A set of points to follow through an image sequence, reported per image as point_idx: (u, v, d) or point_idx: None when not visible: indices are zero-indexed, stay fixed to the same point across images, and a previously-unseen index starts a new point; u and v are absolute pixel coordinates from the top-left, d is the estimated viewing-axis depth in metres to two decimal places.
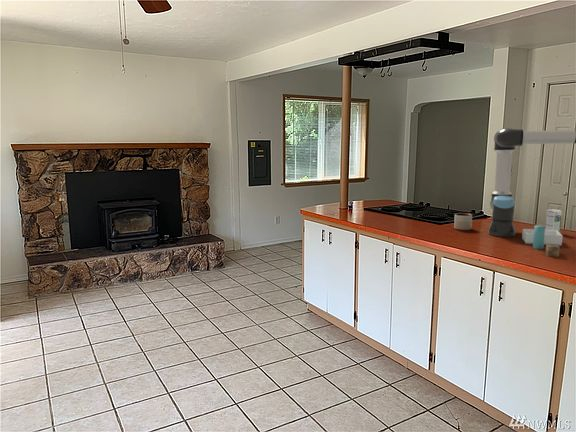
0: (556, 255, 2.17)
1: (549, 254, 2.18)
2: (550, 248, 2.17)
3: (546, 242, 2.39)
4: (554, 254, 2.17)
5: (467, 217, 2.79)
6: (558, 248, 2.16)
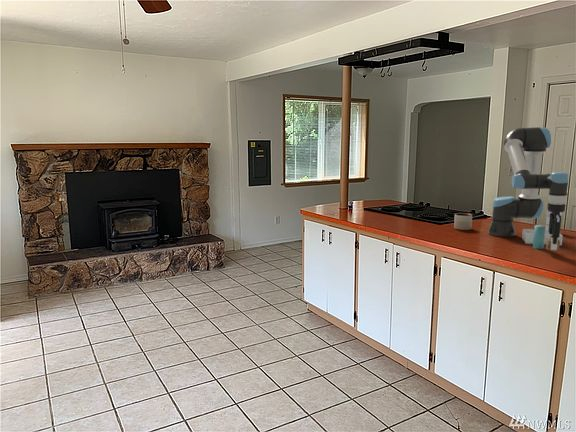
0: None
1: (549, 248, 2.18)
2: (550, 242, 2.17)
3: None
4: None
5: (467, 217, 2.79)
6: (558, 242, 2.16)
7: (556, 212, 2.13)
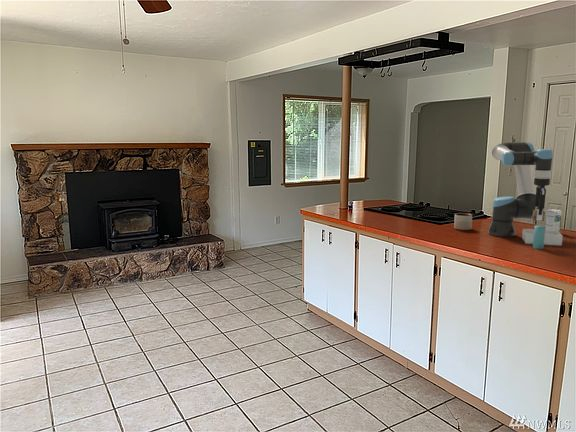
0: None
1: (535, 219, 2.39)
2: (536, 213, 2.38)
3: (546, 242, 2.39)
4: None
5: (467, 217, 2.79)
6: (543, 213, 2.37)
7: (541, 186, 2.33)
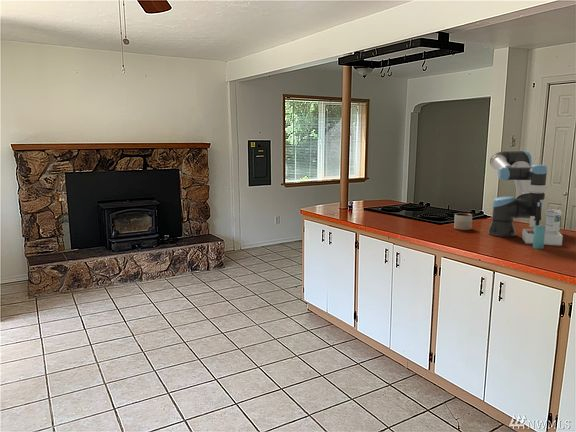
0: None
1: None
2: (531, 233, 2.45)
3: (546, 242, 2.39)
4: None
5: (467, 217, 2.79)
6: None
7: None
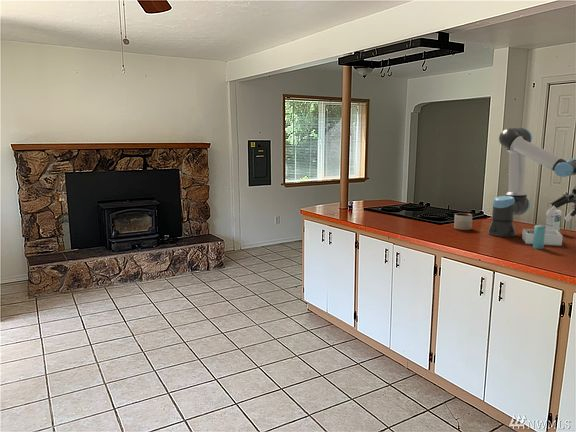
0: None
1: None
2: (531, 233, 2.45)
3: (546, 242, 2.39)
4: None
5: (467, 217, 2.79)
6: None
7: None
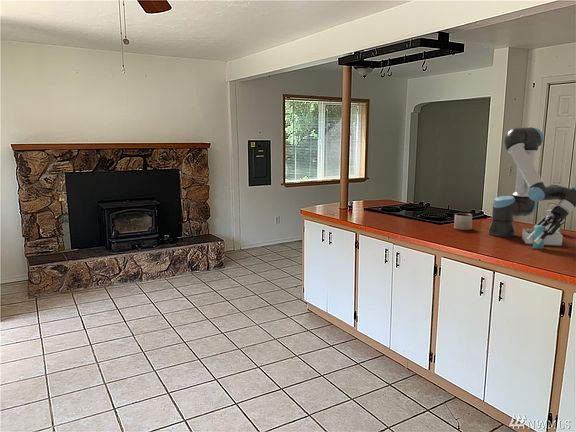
0: None
1: None
2: None
3: (546, 242, 2.39)
4: None
5: (467, 217, 2.79)
6: None
7: (561, 215, 2.29)
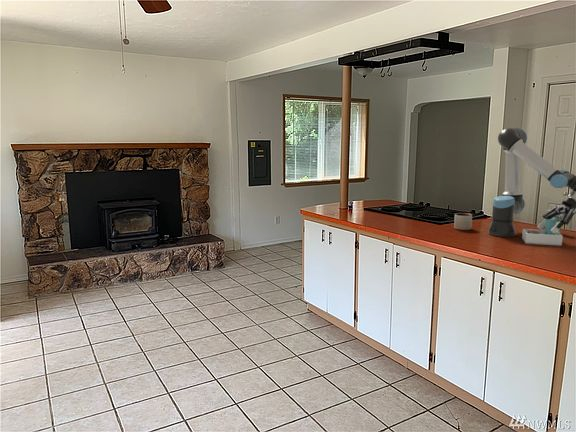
0: None
1: None
2: (531, 233, 2.45)
3: (546, 242, 2.39)
4: None
5: (467, 217, 2.79)
6: (538, 233, 2.44)
7: None
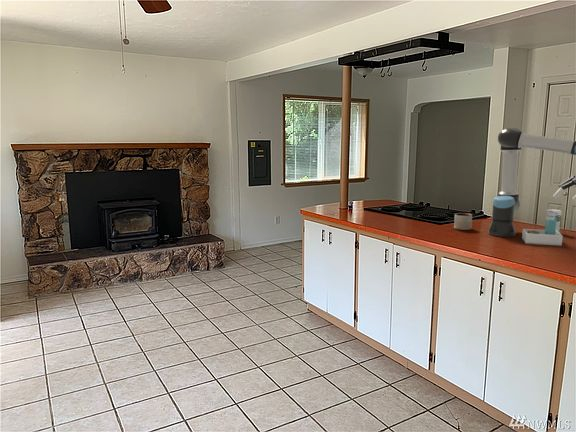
0: None
1: None
2: (531, 233, 2.45)
3: (546, 242, 2.39)
4: None
5: (467, 217, 2.79)
6: (538, 233, 2.44)
7: None
